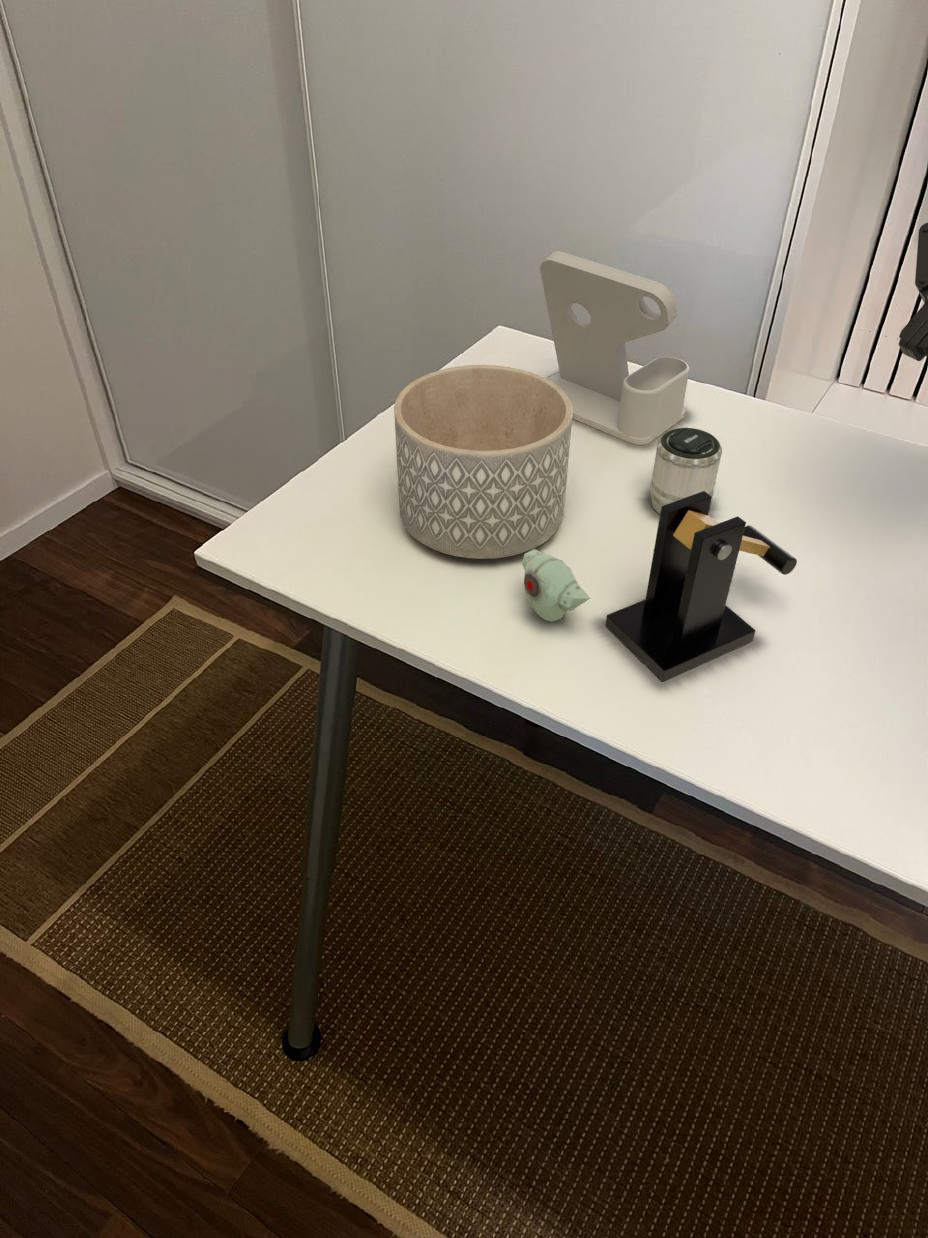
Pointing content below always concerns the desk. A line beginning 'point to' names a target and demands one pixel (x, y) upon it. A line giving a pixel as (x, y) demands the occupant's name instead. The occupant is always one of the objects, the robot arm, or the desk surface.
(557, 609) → the mint green rounded piece
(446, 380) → the planter
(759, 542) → the lever
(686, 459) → the camera lens
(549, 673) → the desk surface
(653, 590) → the pivoting lever stand
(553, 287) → the phone holder
